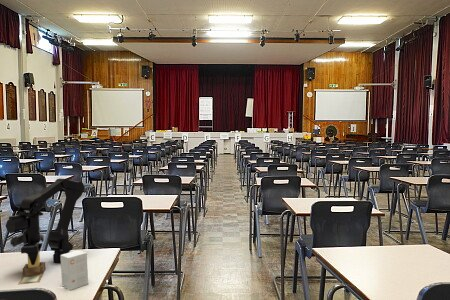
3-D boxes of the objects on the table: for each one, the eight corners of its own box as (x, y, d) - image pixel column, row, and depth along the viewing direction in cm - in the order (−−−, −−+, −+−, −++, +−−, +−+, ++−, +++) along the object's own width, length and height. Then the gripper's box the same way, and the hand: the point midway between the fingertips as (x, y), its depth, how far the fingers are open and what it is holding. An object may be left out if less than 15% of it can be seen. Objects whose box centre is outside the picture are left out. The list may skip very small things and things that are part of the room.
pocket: (45, 268, 182) (45, 261, 181) (42, 274, 174) (42, 267, 174) (26, 270, 179) (26, 263, 179) (22, 276, 172) (22, 269, 172)
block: (40, 270, 179) (39, 249, 179) (38, 273, 175) (37, 252, 175) (30, 271, 178) (29, 250, 178) (28, 274, 174) (27, 253, 174)
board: (46, 270, 182) (45, 267, 182) (39, 284, 165) (39, 281, 165) (26, 272, 180) (26, 269, 180) (17, 287, 163) (17, 283, 163)
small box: (80, 280, 169) (78, 249, 168) (88, 284, 165) (87, 252, 164) (61, 286, 163) (59, 254, 162) (69, 290, 159) (68, 257, 158)
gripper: (16, 223, 182) (18, 258, 183) (6, 234, 164) (8, 272, 165) (43, 221, 185) (45, 255, 186) (36, 232, 167) (38, 269, 168)
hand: (34, 263), depth 176 cm, fingers closed on block, 4 cm apart
